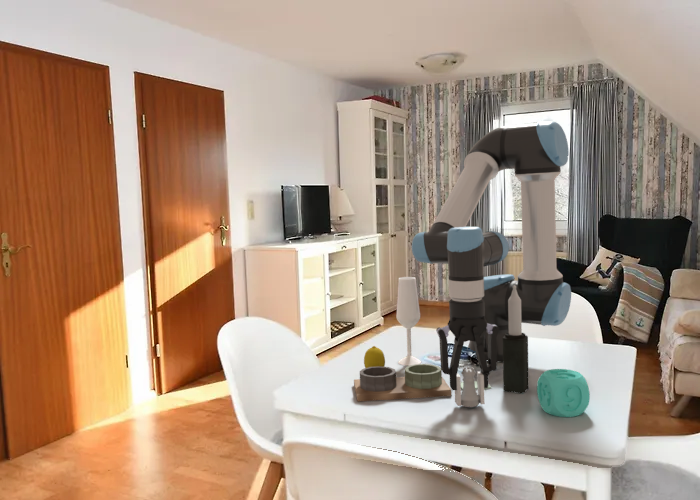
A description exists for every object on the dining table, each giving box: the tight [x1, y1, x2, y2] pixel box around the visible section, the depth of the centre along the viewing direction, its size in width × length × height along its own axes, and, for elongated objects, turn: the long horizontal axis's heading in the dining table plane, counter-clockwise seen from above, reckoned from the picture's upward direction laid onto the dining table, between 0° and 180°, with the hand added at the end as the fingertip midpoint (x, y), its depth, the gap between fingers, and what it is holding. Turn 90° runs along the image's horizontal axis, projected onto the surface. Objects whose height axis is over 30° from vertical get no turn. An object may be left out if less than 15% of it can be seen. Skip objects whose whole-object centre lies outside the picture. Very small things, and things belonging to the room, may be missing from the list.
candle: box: [502, 285, 530, 394], centre depth 140 cm, size 5×5×25 cm
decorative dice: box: [536, 368, 590, 418], centre depth 126 cm, size 8×8×8 cm
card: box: [461, 380, 492, 391], centre depth 145 cm, size 7×5×1 cm
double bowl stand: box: [353, 363, 453, 402], centre depth 144 cm, size 22×12×5 cm, turn 93°
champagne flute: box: [396, 276, 422, 367], centre depth 167 cm, size 7×7×24 cm
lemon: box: [363, 345, 386, 368], centre depth 156 cm, size 6×6×8 cm
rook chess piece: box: [460, 366, 480, 408], centre depth 131 cm, size 4×4×8 cm
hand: (469, 402), depth 131 cm, fingers closed on rook chess piece, 4 cm apart
